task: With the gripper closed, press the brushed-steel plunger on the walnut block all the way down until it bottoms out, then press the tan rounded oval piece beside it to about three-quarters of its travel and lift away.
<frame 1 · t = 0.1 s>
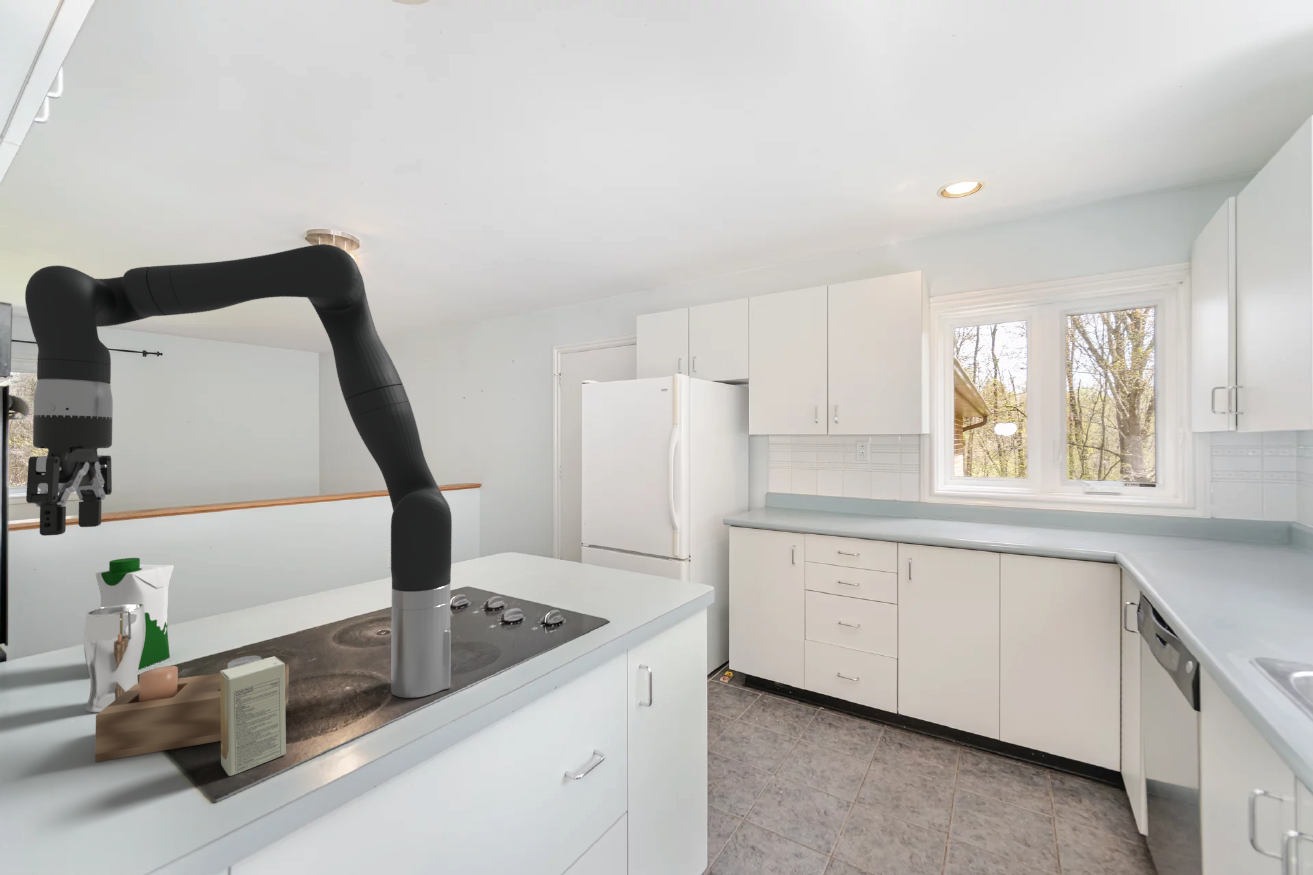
hand: (72, 530, 75), 29 cm above the cooktop, tool pointing down, fingers open, 8 cm apart
walnut block: (201, 728, 78), on the cooktop
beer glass: (114, 704, 86), on the cooktop
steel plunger: (244, 676, 80), point 7 cm above the cooktop, slide at 0.0 cm
tan rounded oval piece: (158, 687, 76), point 7 cm above the cooktop, slide at 0.0 cm
skincare box: (252, 761, 70), on the cooktop
milk carton: (134, 665, 101), on the cooktop
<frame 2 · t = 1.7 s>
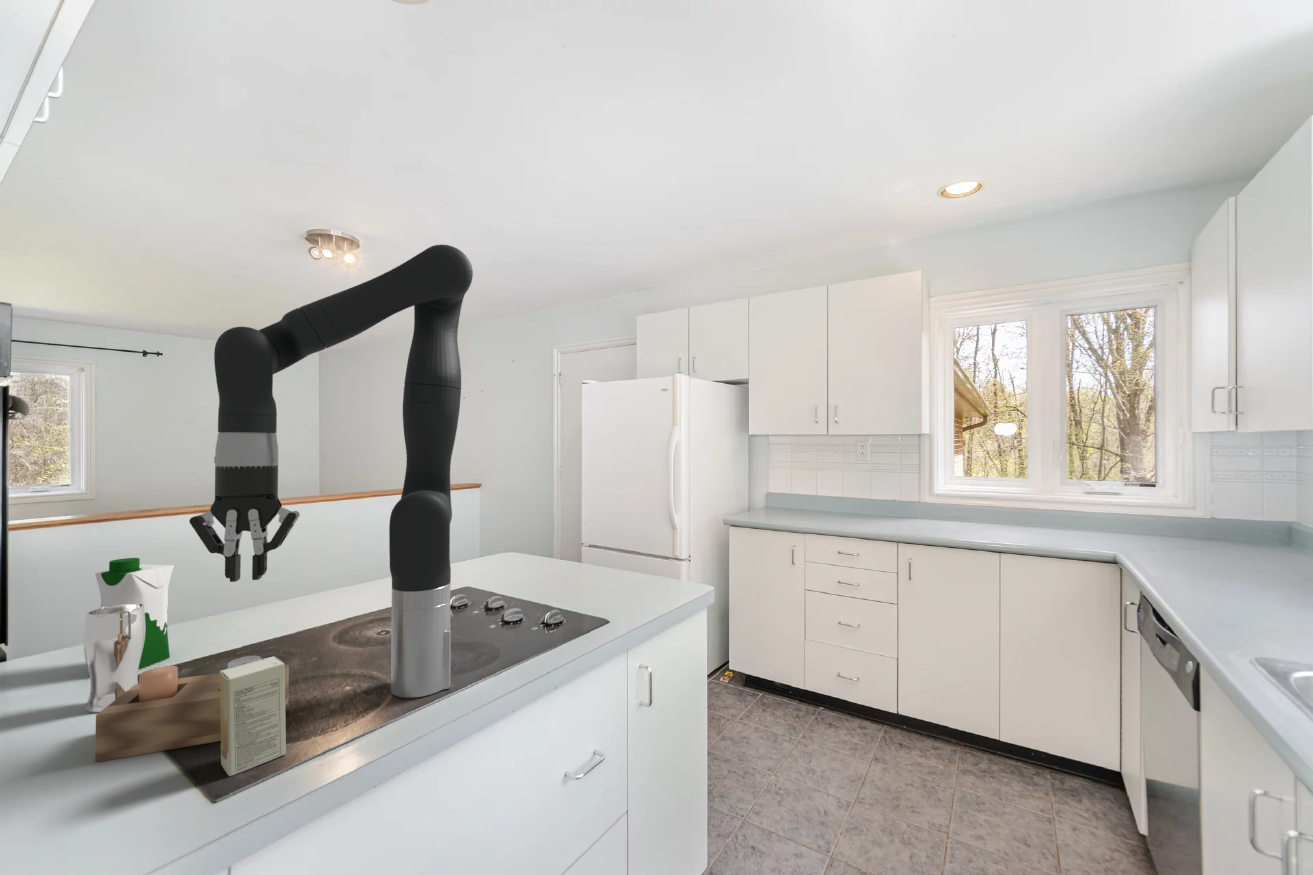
hand: (245, 579, 80), 21 cm above the cooktop, tool pointing down, fingers closed
nothing on the cooktop moved.
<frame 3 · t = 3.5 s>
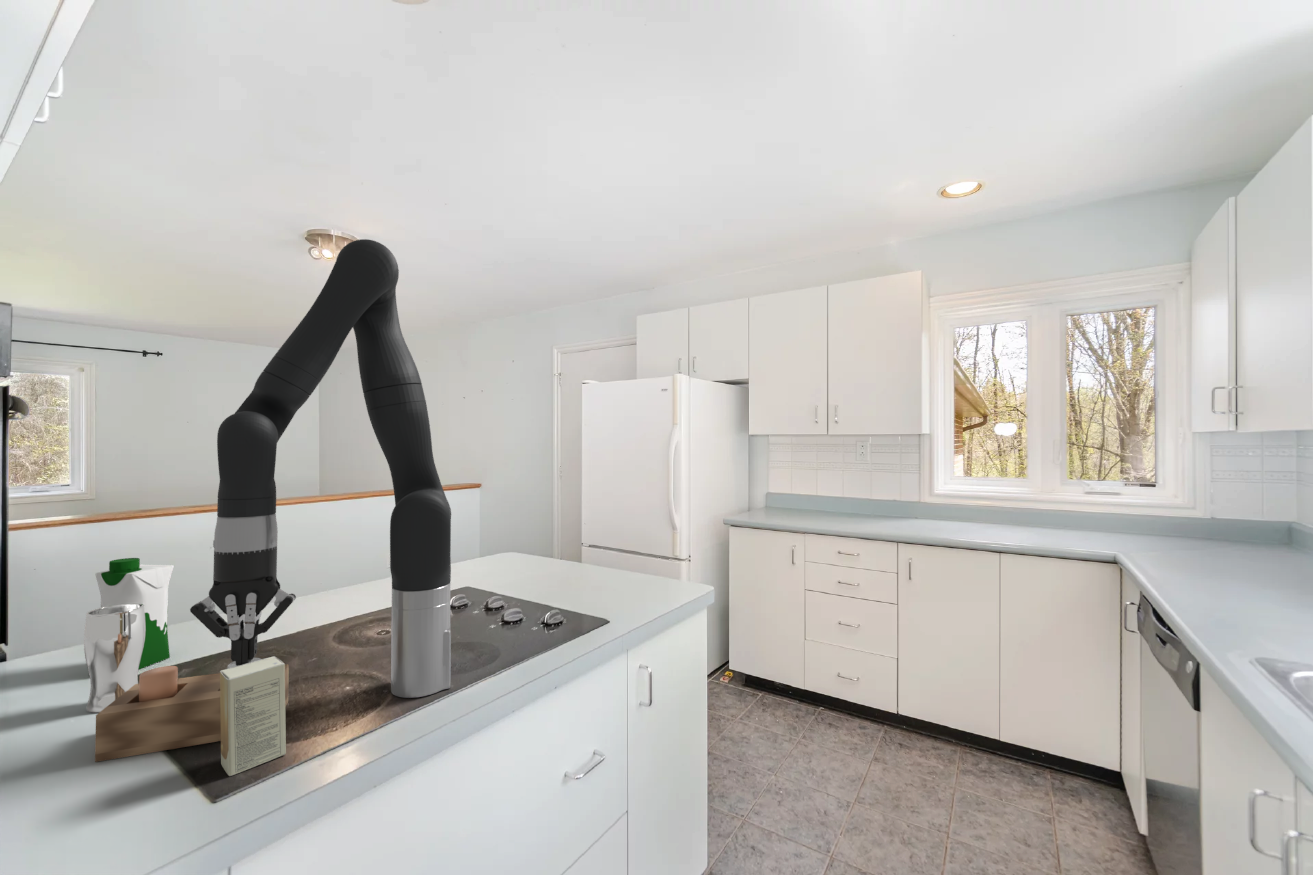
hand: (243, 662, 80), 9 cm above the cooktop, tool pointing down, fingers closed
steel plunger: (244, 678, 80), point 6 cm above the cooktop, slide at 0.3 cm, touching gripper
everything else where it was.
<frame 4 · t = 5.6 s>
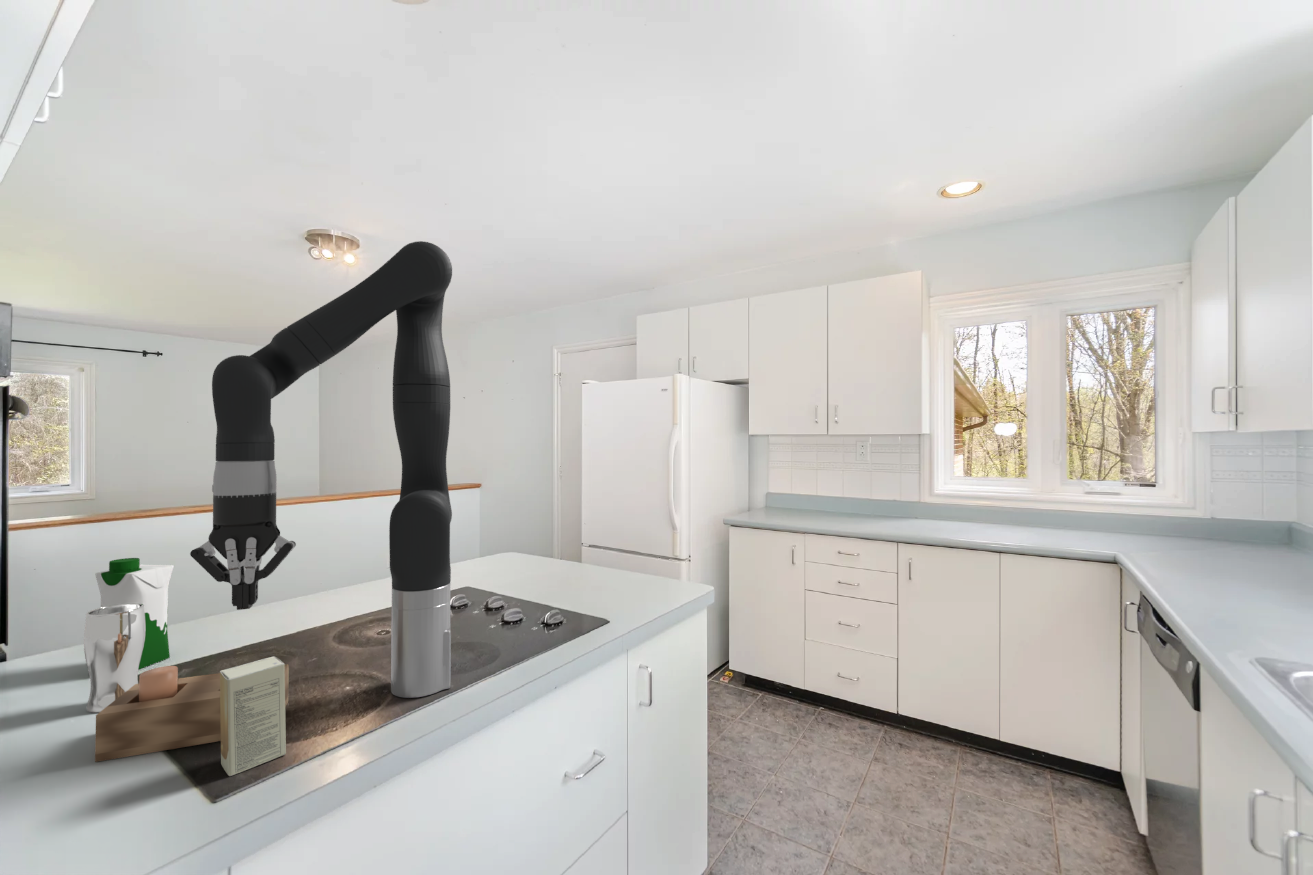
hand: (244, 607, 80), 17 cm above the cooktop, tool pointing down, fingers closed
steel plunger: (244, 697, 80), point 4 cm above the cooktop, slide at 3.0 cm
everything else where it was.
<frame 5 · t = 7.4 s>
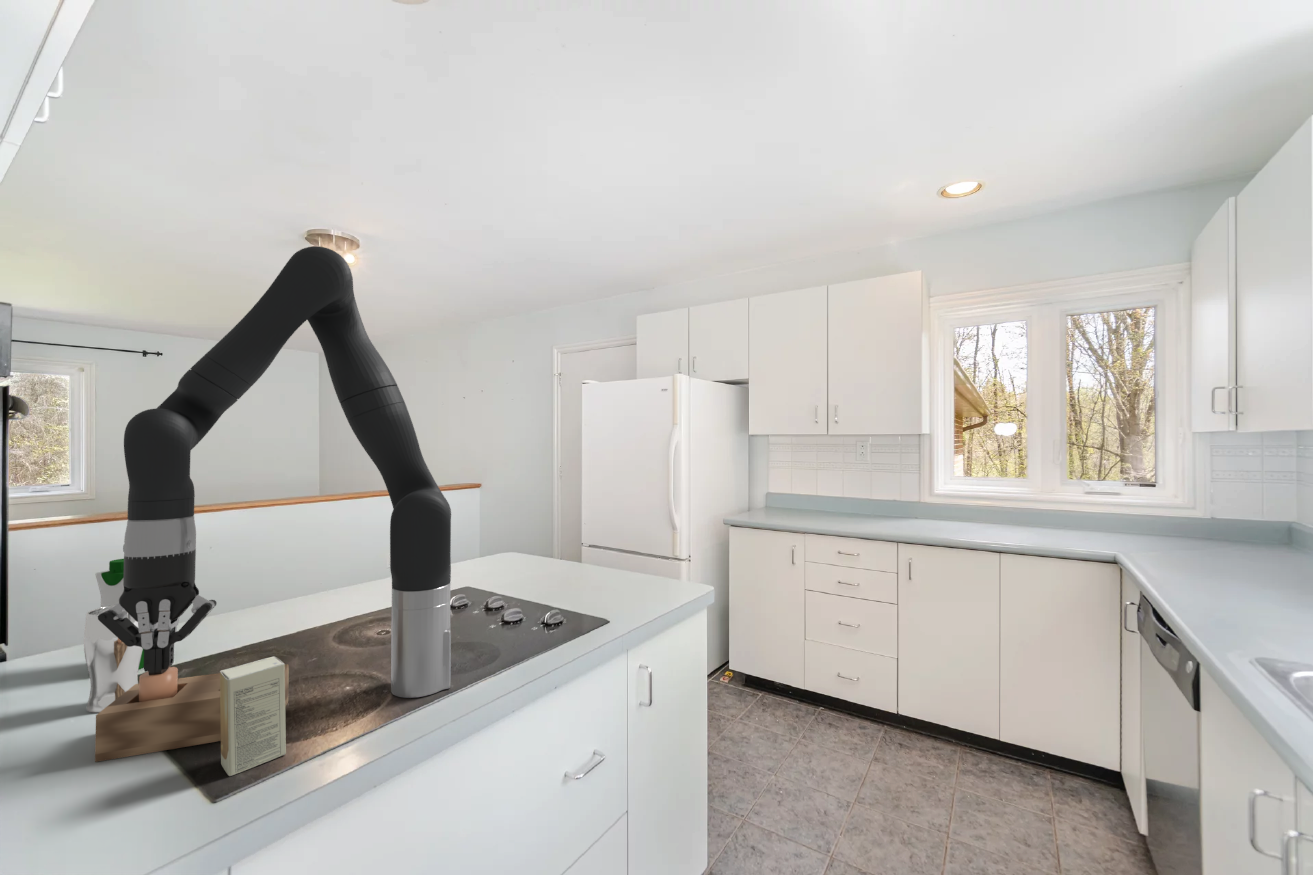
hand: (158, 672, 76), 9 cm above the cooktop, tool pointing down, fingers closed
tan rounded oval piece: (158, 688, 76), point 7 cm above the cooktop, slide at 0.2 cm, touching gripper
everything else where it was.
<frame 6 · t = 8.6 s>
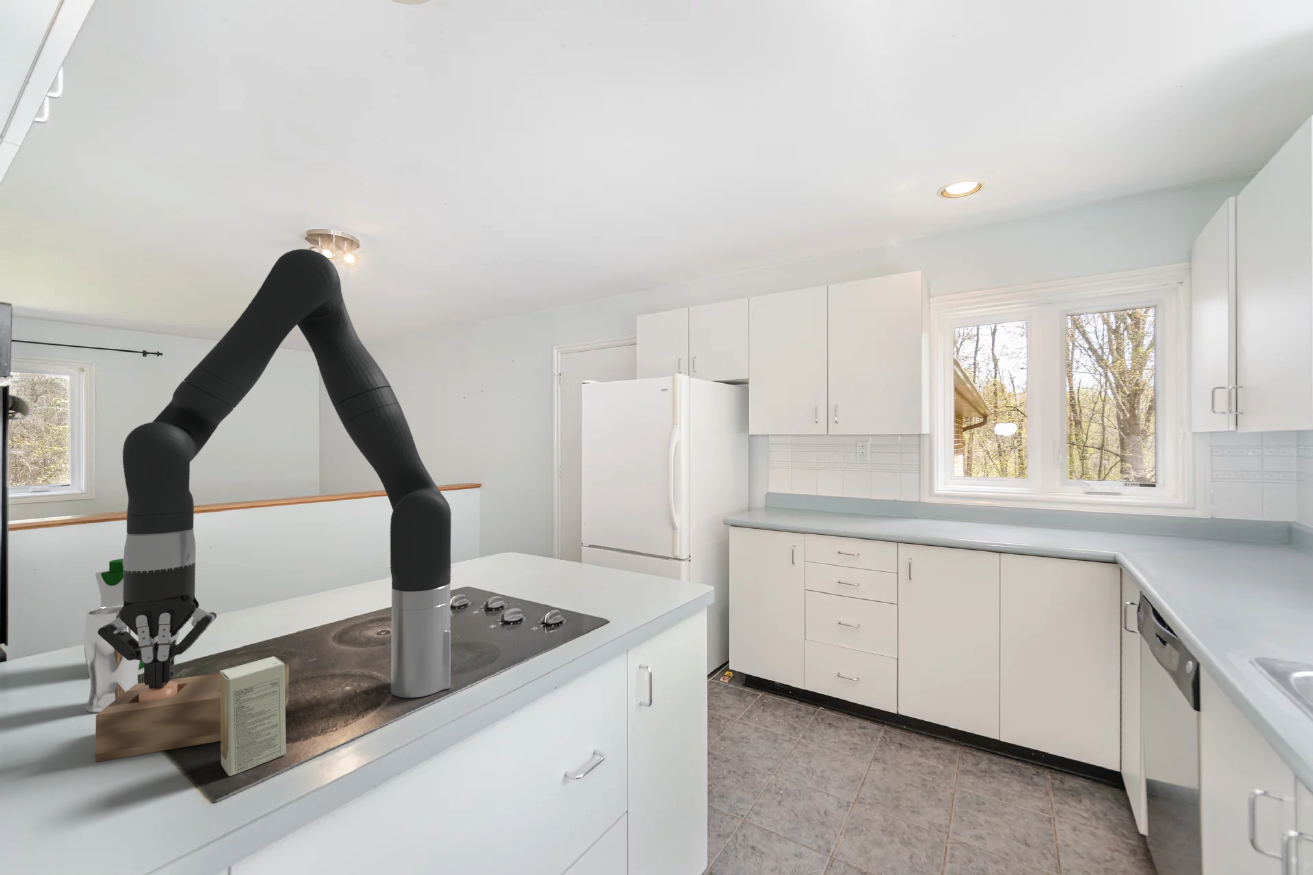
hand: (158, 685, 76), 7 cm above the cooktop, tool pointing down, fingers closed
tan rounded oval piece: (158, 703, 76), point 4 cm above the cooktop, slide at 2.2 cm
everything else where it was.
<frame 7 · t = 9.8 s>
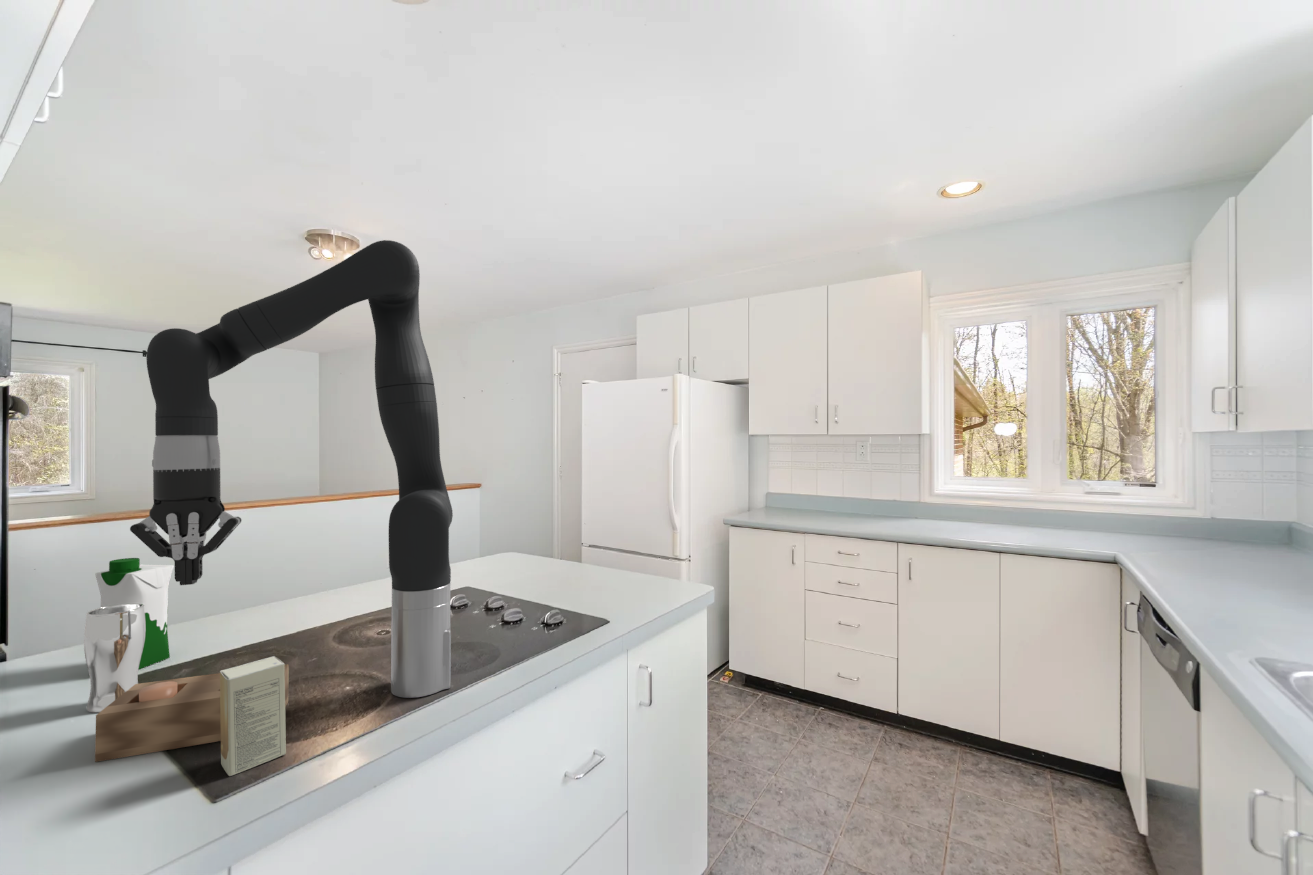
hand: (188, 583, 80), 21 cm above the cooktop, tool pointing down, fingers closed
nothing on the cooktop moved.
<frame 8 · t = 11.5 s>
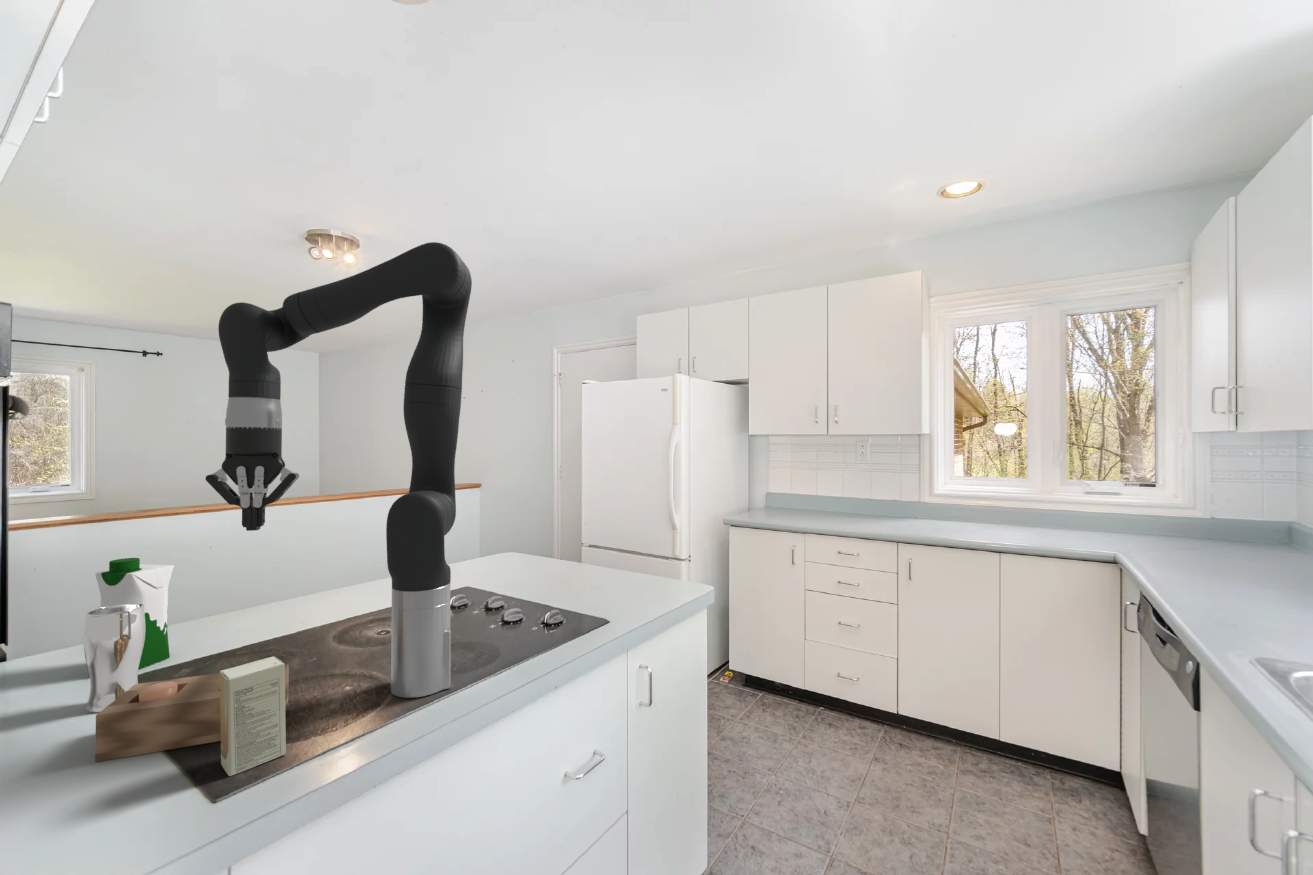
hand: (253, 529, 90), 27 cm above the cooktop, tool pointing down, fingers closed
nothing on the cooktop moved.
at the end: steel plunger slide at 3.0 cm; tan rounded oval piece slide at 2.2 cm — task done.
